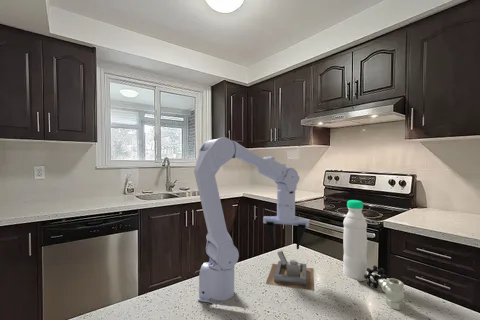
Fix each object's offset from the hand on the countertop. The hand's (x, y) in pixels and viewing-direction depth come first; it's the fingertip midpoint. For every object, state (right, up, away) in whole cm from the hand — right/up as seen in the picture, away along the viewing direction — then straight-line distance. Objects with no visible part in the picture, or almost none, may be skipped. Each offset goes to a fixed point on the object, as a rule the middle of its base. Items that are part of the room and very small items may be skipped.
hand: (285, 246), depth 80 cm
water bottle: (+23, -11, +1) cm, 25 cm away
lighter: (+1, -10, -1) cm, 10 cm away
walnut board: (+2, -10, 0) cm, 10 cm away
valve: (+26, -11, -11) cm, 30 cm away
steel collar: (+2, -9, 0) cm, 9 cm away
